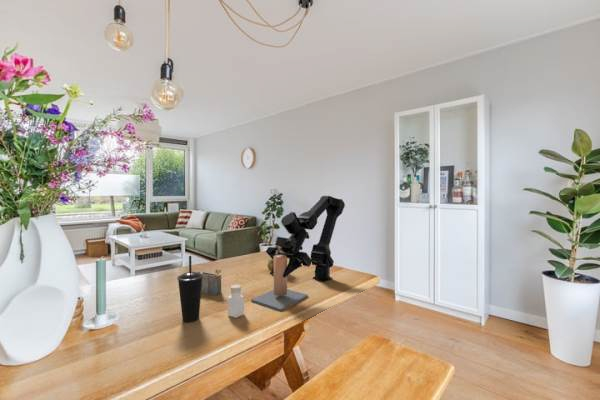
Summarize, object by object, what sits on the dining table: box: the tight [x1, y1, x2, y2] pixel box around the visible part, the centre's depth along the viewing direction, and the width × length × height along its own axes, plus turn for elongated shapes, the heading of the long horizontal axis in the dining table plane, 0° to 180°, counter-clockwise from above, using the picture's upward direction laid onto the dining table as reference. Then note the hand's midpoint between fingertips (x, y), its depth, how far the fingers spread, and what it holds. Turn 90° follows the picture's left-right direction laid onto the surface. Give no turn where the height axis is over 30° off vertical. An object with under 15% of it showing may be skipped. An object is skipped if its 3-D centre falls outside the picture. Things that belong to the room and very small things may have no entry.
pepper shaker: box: [227, 284, 245, 319], centre depth 92 cm, size 4×4×10 cm
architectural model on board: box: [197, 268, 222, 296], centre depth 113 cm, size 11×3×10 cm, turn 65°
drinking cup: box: [176, 255, 203, 323], centre depth 89 cm, size 8×8×20 cm
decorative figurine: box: [267, 244, 282, 272], centre depth 139 cm, size 10×8×15 cm
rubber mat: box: [251, 288, 309, 312], centre depth 106 cm, size 16×14×1 cm
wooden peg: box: [273, 255, 288, 296], centre depth 105 cm, size 5×5×14 cm
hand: (278, 275), depth 104 cm, fingers closed on wooden peg, 5 cm apart
